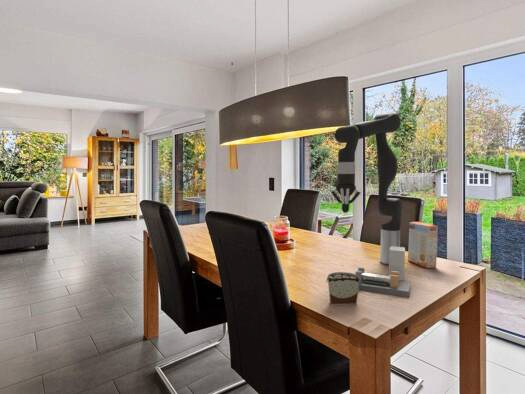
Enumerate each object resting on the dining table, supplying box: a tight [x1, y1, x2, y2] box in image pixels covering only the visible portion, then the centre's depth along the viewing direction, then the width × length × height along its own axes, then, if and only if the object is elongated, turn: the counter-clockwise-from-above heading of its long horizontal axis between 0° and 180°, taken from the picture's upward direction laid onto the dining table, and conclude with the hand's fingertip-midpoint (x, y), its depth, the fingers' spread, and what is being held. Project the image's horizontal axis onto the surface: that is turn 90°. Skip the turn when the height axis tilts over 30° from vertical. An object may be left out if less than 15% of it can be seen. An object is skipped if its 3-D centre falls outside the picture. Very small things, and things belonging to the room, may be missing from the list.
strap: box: [362, 272, 390, 283], centre depth 137 cm, size 4×2×15 cm
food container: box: [326, 271, 361, 306], centre depth 122 cm, size 12×6×10 cm, turn 92°
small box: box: [388, 246, 406, 281], centre depth 149 cm, size 8×6×13 cm
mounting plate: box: [355, 266, 411, 298], centre depth 137 cm, size 12×26×6 cm, turn 64°
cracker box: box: [407, 221, 439, 269], centre depth 169 cm, size 14×6×21 cm, turn 13°
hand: (345, 212), depth 147 cm, fingers closed
